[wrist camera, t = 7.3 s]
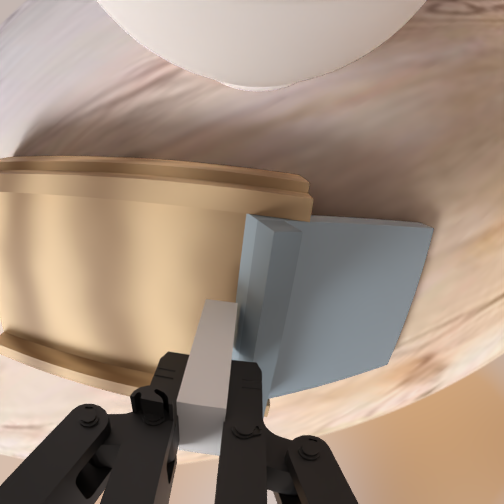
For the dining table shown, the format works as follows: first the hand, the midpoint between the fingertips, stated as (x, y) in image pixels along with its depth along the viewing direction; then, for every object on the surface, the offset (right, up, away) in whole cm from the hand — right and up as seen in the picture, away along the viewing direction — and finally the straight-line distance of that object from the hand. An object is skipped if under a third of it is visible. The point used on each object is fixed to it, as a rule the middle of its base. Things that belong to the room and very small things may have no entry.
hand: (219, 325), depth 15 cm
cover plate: (+6, 0, +3) cm, 7 cm away
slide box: (-7, +3, +5) cm, 8 cm away
